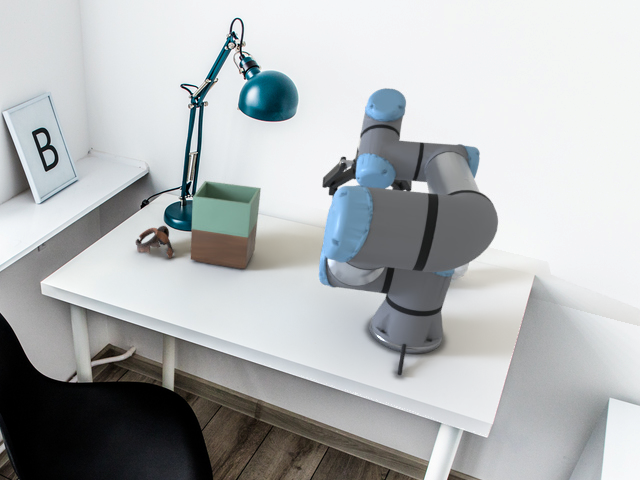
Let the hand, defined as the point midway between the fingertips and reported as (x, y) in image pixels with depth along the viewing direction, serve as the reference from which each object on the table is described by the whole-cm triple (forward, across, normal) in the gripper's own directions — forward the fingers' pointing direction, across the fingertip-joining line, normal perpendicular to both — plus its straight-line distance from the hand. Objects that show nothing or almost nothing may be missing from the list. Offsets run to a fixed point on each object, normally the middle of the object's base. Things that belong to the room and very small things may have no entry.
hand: (361, 202), depth 163 cm
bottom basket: (+12, +34, +12) cm, 38 cm away
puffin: (+12, -24, +10) cm, 29 cm away
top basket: (+4, +34, +7) cm, 35 cm away
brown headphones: (+11, +52, +12) cm, 55 cm away
